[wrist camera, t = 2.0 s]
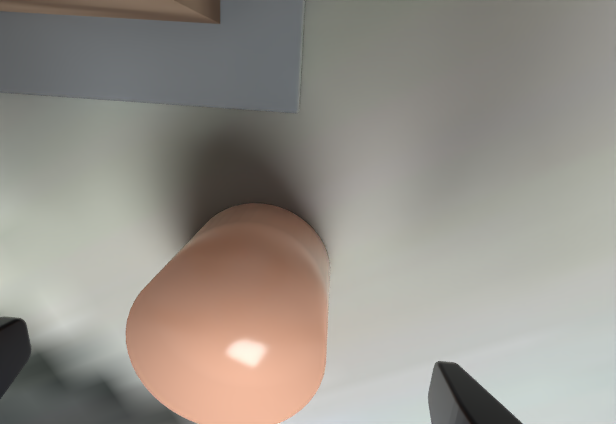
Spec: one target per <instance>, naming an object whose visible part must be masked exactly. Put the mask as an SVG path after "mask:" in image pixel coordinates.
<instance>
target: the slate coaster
mask: <svg viewBox="0 0 616 424" xmlns="http://www.w3.org/2000/svg"><path fill="white" fill-rule="evenodd" d="M304 12H305V0H220V24H212V23H195V22H178V21H160V20H143V19H126V18H109V17H92V16H75V15H57V14H40V13H23V12H6V11H0V92H1V93H15V94H29V95H43V96H58V97H72V98H86V99H100V100H115V101H129V102H143V103H157V104H172V105H186V106H200V107H215V108H229V109H243V110H257V111H272V112H286V113H298V112H299V107H300V88H301V69H302V50H303V31H304Z"/></svg>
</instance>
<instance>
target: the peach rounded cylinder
mask: <svg viewBox="0 0 616 424" xmlns="http://www.w3.org/2000/svg"><path fill="white" fill-rule="evenodd" d="M329 286H330V264H329V258H328V254H327V251H326V249H325V246H324V244H323V242H322V241H321V239H320V237H319V236H318V234H317V233H316V232H315V231H314V229H313V228H312V227H311V226H310V225H309V224H308V223H307V222H306V221H304V220H303V219H302V218H300V217H299V216H297V215H296V214H294V213H292V212H290V211H288V210H286V209H283V208H281V207H278V206H274V205H270V204H263V203H248V204H241V205H237V206H233V207H230V208H228V209H225V210H223V211H222V212H220V213H218V214H216V215H215V216H214V217H212V218H211V219H210V220H209V221H208V222H207V223H206V224H205V225H204V226H203V227H202V228H201V229H200V230H199V231H198V232H197V233H196V234H195V236H194V237H193V238H192V239H191V240H190V241H189V242H188V243H187V244H186V245H185V246H184V247H183V248H182V249H181V250H180V251H179V252H178V253H177V254H176V255H175V256H174V257H173V258H172V260H171V261H170V262H169V263H168V264H167V265H166V266H165V267H164V268H163V269H162V270H161V271H160V272H159V273H158V274H157V275H156V276H155V277H154V278H153V279H152V280H151V281H150V283H149V284H148V285H147V286H146V287H145V288H144V289H143V290H142V291H141V292H140V294H139V295H138V297H137V298H136V299H135V301H134V303H133V305H132V307H131V309H130V312H129V316H128V319H127V325H126V344H127V350H128V354H129V357H130V360H131V363H132V366H133V368H134V370H135V372H136V374H137V375H138V377H139V378H140V380H141V381H142V383H143V384H144V386H145V387H146V388H147V389H148V390H149V392H150V393H151V394H152V395H153V396H154V397H155V398H156V399H158V400H159V401H160V402H161V403H162V404H164V405H165V406H166V407H167V408H169V409H170V410H172V411H174V412H175V413H177V414H178V415H180V416H182V417H184V418H186V419H188V420H190V421H193V422H196V423H198V424H278V423H280V422H283V421H284V420H286V419H288V418H290V417H292V416H293V415H295V414H296V413H297V412H299V411H300V410H301V409H302V408H303V407H305V406H306V405H307V404H308V403H309V401H310V400H311V399H312V397H313V396H314V395H315V393H316V392H317V390H318V388H319V386H320V384H321V381H322V378H323V375H324V371H325V365H326V349H327V328H328V307H329Z"/></svg>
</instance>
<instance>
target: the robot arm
mask: <svg viewBox="0 0 616 424" xmlns="http://www.w3.org/2000/svg"><path fill="white" fill-rule="evenodd" d="M30 355H31V344H30V339H29V334H28V330H27V325H26V322H25V321H24V320H23V319H21V318H16V317H0V399H1V397H2V396H3V395H4V393H5V392H6V390H7V389H8V388H9V386H10V385H11V383H12V382H13V381H14V379H15V378H16V377H17V375H18V374H19V372H20V371H21V370H22V368H23V367H24V365H25V364H26V363H27V361H28V360H29V357H30ZM428 403H429V410H430V416H431V423H432V424H523V423H522V422H520V421H519V420H518V419H517V418H516V417H515V416H514V415H513V414H512V413H511V412H510V411H508V410H507V409H506V408H505V407H504V406H503V405H502V404H501V403H500V402H499V401H497V400H496V399H495V398H494V397H493V396H492V395H491V394H490V393H489V392H488V391H487V390H485V389H484V388H483V387H482V386H481V385H480V384H479V383H478V382H477V381H476V380H475V379H473V378H472V377H471V376H470V375H469V374H468V373H467V372H466V371H465V370H464V369H463V368H461V367H460V366H459V365H458V364H456V363H453V362H444V361H438V362H436V363H435V365H434V368H433V373H432V378H431V383H430V388H429V393H428Z"/></svg>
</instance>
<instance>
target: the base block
mask: <svg viewBox="0 0 616 424" xmlns="http://www.w3.org/2000/svg"><path fill="white" fill-rule="evenodd" d="M0 11H6V12H23V13H40V14H57V15H75V16H92V17H109V18H126V19H143V20H160V21H178V22H195V23H212V24H220V0H0Z"/></svg>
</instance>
